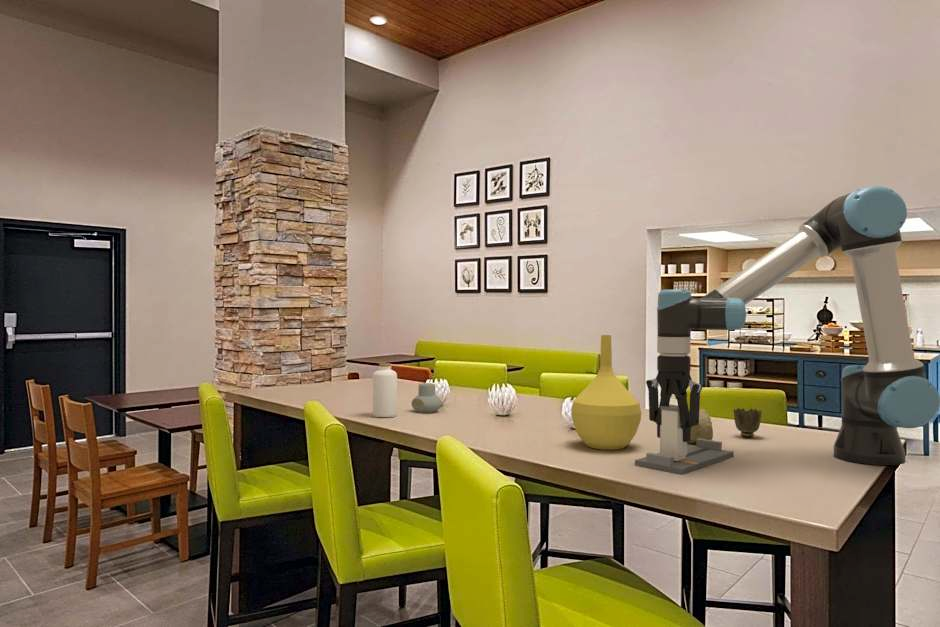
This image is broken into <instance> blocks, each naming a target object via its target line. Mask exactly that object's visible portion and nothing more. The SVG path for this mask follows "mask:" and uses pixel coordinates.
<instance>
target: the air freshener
mask: <svg viewBox="0 0 940 627" xmlns="http://www.w3.org/2000/svg"><path fill="white" fill-rule="evenodd" d="M442 405H443V401H442V399H441V398H440V397H439V396H437V395H436V384H435V383H432V382H431V383H429V382H428V383H427V382H424V383H422V382H421V383H419V384H418V395H416V396H415V397H414V398H413V399H412V400H411V407H412V409H413V410H414V411H416V412H418V413H419V412H432V413H436V412H437V411H439V410H440V409H441V408H442Z"/></svg>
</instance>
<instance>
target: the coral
mask: <svg viewBox="0 0 940 627" xmlns="http://www.w3.org/2000/svg"><path fill="white" fill-rule="evenodd" d="M712 424H713V421H712V419H711V415H709V412H707V411H706V410H705V409H704V408H699V424H698V425H696V426H692V427H691V436H690V441H689V442H687V444H690V445H693V444H694V445H695V444H696V445H697V439H699V438H700V439H706V440H713V437H714V430H713V425H712Z"/></svg>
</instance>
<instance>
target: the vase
mask: <svg viewBox="0 0 940 627" xmlns="http://www.w3.org/2000/svg"><path fill="white" fill-rule="evenodd" d="M612 350H613V349H612V334H601V335H600V358H599V359H600V364H599V365H600V367H599V370H598V372H597V374H596V376H595V377H594V378H593V379H592V380H591V381H590V383H589V384H587V386H586V387H585V388H584V389H583V390H582V391H581V392H580V393H579V394H578V395H577V396H576V397H575V398H574V399H573V401H572V405H571V412H570V413H571V415H570V416H571V419H572V422H573V426H574V429H575V432H576V433H577V435H578V436H579V439H580V440H581V441H582V442H583V443H584V444H585V445H586V446H587V447H589V448H592V449H594V450H595V449H596V450H604V451H615V450H616V451H617V450H621V449H624V448H626V447H627V446H628V445H629V444H630V443H631V442H632V441H633V438H635V436H636V434H637V433H638V429H639V426H640V423H641V420H642V409H641V403H640V402H639V401H638V400H637V398H636V397H635V396H634V395H633V394H631V392H630V391H629V390H628V389H627V388H626V387H625V386H624V384H623V383H622V382H621V381H620V379H619V378H618V377H617V376H616V373H615V372H614V369H613V365H612V360H613V357H612V354H613V353H612Z"/></svg>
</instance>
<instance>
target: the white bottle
mask: <svg viewBox="0 0 940 627" xmlns="http://www.w3.org/2000/svg"><path fill="white" fill-rule="evenodd" d="M397 414H398V374H397V372H396V371H395V370H393V369H392V363H385V362H384V363H378V369H377V370H375V371H374V372H373V374H372V416H374V417H375V418H378V417H390V418H393V417H392V416H394V417H396V416H397Z"/></svg>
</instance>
